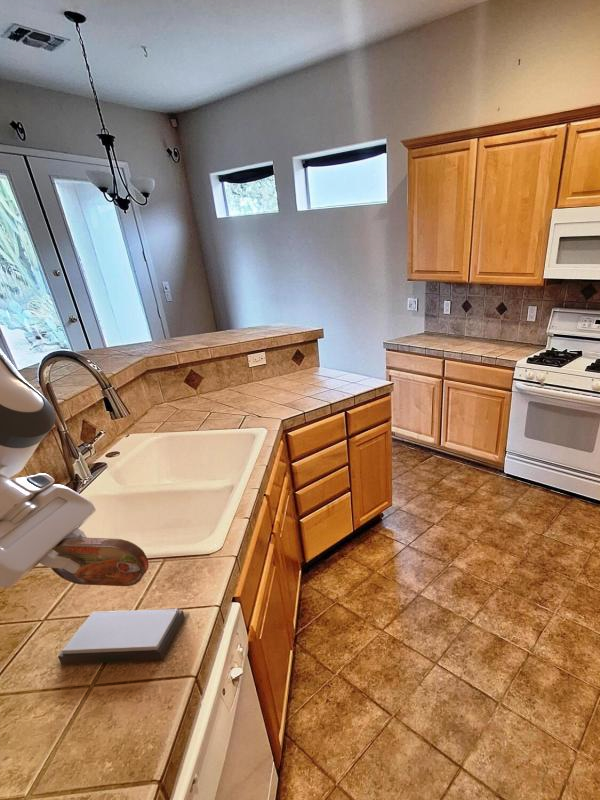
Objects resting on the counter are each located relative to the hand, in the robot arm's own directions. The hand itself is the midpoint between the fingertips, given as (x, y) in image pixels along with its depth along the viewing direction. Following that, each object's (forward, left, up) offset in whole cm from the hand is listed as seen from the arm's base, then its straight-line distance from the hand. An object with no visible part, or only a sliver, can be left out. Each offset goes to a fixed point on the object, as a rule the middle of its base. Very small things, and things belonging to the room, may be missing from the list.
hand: (86, 560), depth 70 cm
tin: (+2, +1, -4) cm, 5 cm away
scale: (+3, -2, -16) cm, 17 cm away
